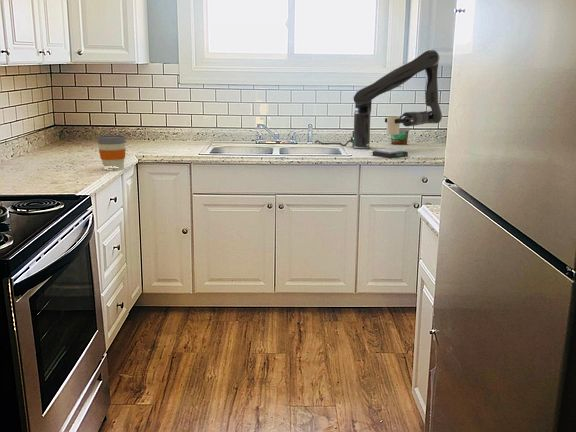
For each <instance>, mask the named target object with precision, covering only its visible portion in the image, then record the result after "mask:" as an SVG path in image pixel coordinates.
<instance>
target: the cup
mask: <svg viewBox="0 0 576 432" xmlns="http://www.w3.org/2000/svg"><path fill="white" fill-rule="evenodd" d="M399 116H400V115H397V116H396V115H390V116H386V118H387V123H386V135H390V136H391V135H398V134H399V128H400V126H401V125H400V124H401V123H395V119H400V117H399Z"/></svg>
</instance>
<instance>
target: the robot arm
mask: <svg viewBox="0 0 576 432" xmlns="http://www.w3.org/2000/svg"><path fill="white" fill-rule="evenodd" d="M439 63H440V53H439V52H438V51H437V50H435V49H432V48H429V49H426V50H425V51H424V52H422V53H420V54H419V55H418V56H417V57H415V58H413V59H412V60H411V61H409V62H406V63H404V64H402V65H399V66H398V67H396V68H393V69H391V70H390V71H389V72H387V73H385V74H384V75H383V76H381V77H380V78H378V79H377V80H376V81H375V82H372V83H371V84H369V85H367V86H365V87H362V88H360V89H358V90H356V91H355V92H354V94H353V98H352V99H353V102H354V103H355V104H354V113H353V130H352V136H351V137H350V139H349V140H348V141H346V142H345V143H344V144H343V143H341V142H322V141H320V140H319V139H317V140H315V141H314V144H317V143H319V144H322V145H340V146H342V147H346V146H347V145H348V144H349V143H350V144H351V146H352V148H354V149H358V150H359V149H360V150H361V149H365V150H367V149H370V147H371V146H370V145H371V143H370V142H371V114H372V102H373V100H374V99H375V98H377V97H378V96H380V95H382V94H385V93H387V92H391V91H392V90H394V89H396V88H399V87H400V86H401V85H403V84H405V83H406V82H408V81H409V80H410V79H412V78H413V77H415V76H416V75H417V74H419V73H421V72H423V71H425V86H424V103H425V106H426V107H429V108H430V110H424V111H423V110H422V111H405V112H404V113H402V115H398V116H399V117H400V119H395V123H400V124H401V125H403V126H404V127H415V126H420V125H425V124H439V123H440V122H441V121H442V118H443V112H442V109H441V106H440V103H439V83H438V68H439ZM384 123H386V124H387V117H384Z"/></svg>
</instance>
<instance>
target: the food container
mask: <svg viewBox="0 0 576 432" xmlns="http://www.w3.org/2000/svg"><path fill="white" fill-rule="evenodd" d="M410 131H411V130H410V127H399V134H398V135H390V142H391V145H395V146H396V145H397V146H405V145H408V138H409V133H410Z"/></svg>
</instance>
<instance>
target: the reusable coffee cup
mask: <svg viewBox="0 0 576 432" xmlns="http://www.w3.org/2000/svg"><path fill="white" fill-rule="evenodd" d="M126 142H127V141H126V136H125V135H120V134H109V135H100V136H97V144H98V152H99V158H100V160H101V163H102V166H103V165H104V166H112V167H113V166H116V167H119V168H108V169H114V170H113V171H121V170H124V168H125V158H126V151H127V150H126Z"/></svg>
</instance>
